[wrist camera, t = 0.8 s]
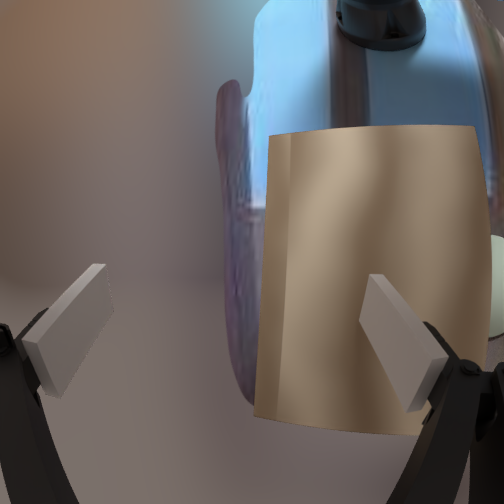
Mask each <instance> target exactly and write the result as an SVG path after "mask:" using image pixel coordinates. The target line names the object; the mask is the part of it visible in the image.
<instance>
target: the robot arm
mask: <svg viewBox="0 0 504 504" xmlns="http://www.w3.org/2000/svg"><path fill="white" fill-rule="evenodd" d="M499 1H504V0H499ZM336 18H337V22H338V25H339V28H340V30H341V32H342V33H343V34H344V36H345V37H346V38H348V39H349V40H350V41H352V42H354V43H355V44H357V45H360V46H362V47H365V48H369V49H374V50H381V51H394V50H401V49H406V48H409V47H411V46H413V45H415V44H417V43H418V42H419V41H420V40H421V39H422V38H423V37H424V35H425V32H426V18H425V14H424V12H423V9H422V8H421V5H420V3H419V1H418V0H337V8H336ZM113 312H114V308H113V303H112V298H111V292H110V286H109V280H108V274H107V267H106V264H92V265H91V266H90V267H89V268H88V269H87V270H86V271H85V272H84V273H83V274H82V275H81V276H80V277H79V278H78V279H77V280H76V281H75V282H74V283H73V284H72V285H71V286H70V287H69V288H68V289H67V290H66V291H65V292H64V294H62V295H61V297H60V298H59V299H58V300H57V301H56V302H55V303H54V304H53V305H52V306H51V307H50V308H46V309H44V310H43V311H41V312H39V313H38V314H37V315H36V316H35V317H34V318H33V320H32V321H31V322H30V323H29V324H28V326H26V327H25V328H24V329H23V330H22V332H21V333H20V334H19V335H18V336H17V337H16V339H13V337H12V334H11V331H10V329H9V326H8V325H6V324H2V323H0V463H1V468H2V472H3V476H4V480H5V484H6V487H7V491H8V495H9V498H10V502H11V504H79V502H78V500H77V498H76V496H75V494H74V492H73V490H72V487H71V485H70V483H69V480H68V478H67V476H66V473H65V471H64V469H63V466H62V464H61V461H60V459H59V456H58V453H57V451H56V448H55V445H54V442H53V439H52V437H51V433H50V430H49V427H48V424H47V421H46V417H45V414H44V411H43V407H42V403H41V400H40V396H39V394H38V393H37V389H38V387H39V386H40V384H41V386H42V388H43V390H44V392H45V394H46V395H49V396H52V397H56V398H60V399H61V397H62V396H63V394H64V392H65V390H66V389H67V387H68V385H69V383H70V382H71V380H72V378H73V377H74V375H75V373H76V371H77V370H78V368H79V366H80V365H81V363H82V361H83V360H84V358H85V356H86V355H87V353H88V351H89V350H90V348H91V347H92V345H93V343H94V342H95V340H96V339H97V337H98V336H99V334H100V332H101V331H102V329H103V328H104V326H105V325H106V323H107V321H108V320H109V318H110V317H111V315H112V314H113ZM359 322H360V324H361V326H362V328H363V330H364V332H365V333H366V335H367V337H368V339H369V341H370V343H371V345H372V347H373V349H374V351H375V353H376V354H377V356H378V358H379V360H380V362H381V364H382V366H383V368H384V370H385V372H386V374H387V376H388V378H389V380H390V382H391V384H392V386H393V388H394V390H395V392H396V394H397V397H398V399H399V401H400V403H401V405H402V407H403V409H404V411H405V413H409V412H414V411H419V410H422V408H423V406H424V405H425V403H426V401H427V399H428V401H429V403H430V405H431V406H432V407H431V409H430V410H429V412H428V414H427V415H426V417H425V419H424V420H423V422H422V425H423V428H422V430H421V433H420V435H419V438H418V440H417V443H416V445H415V447H414V449H413V451H412V454H411V456H410V458H409V460H408V462H407V464H406V467H405V469H404V471H403V473H402V475H401V477H400V479H399V481H398V483H397V484H396V486H395V488H394V490H393V492H392V494H391V496H390V497H389V499H388V501H387V503H386V504H453V503H454V500H455V498H456V494H457V492H458V489H459V486H460V482H461V479H462V476H463V473H464V469H465V466H466V462H467V458H468V454H469V450H470V486H469V488H470V489H469V503H468V504H504V362H501V363H498V365H497V366H496V368H495V370H494V372H485V371H482V369H481V368H480V366H479V365H477V364H476V363H475V362H473V361H471V360H467V359H460V358H459V357H458V356H457V354H456V353H455V352H454V351H453V349H452V348H451V347H450V345H449V344H448V343H447V342H445V339H444V338H443V337H442V336H441V334H440V333H439V332H438V330H437V329H436V328H435V327H434V326H432V325H431V324H429V323H428V322H427V321H424V322H422V321H421V320H420V318H419V317H418V316H417V315H416V313H415V312H414V311H413V310H412V309H411V307H410V306H409V305H408V304H407V302H406V301H405V300H404V299H403V298H402V296H401V295H400V294H399V293H398V292H397V290H396V289H395V288H394V287H393V286H392V284H391V283H390V282H389V281H388V280H387V279H386V277H385V276H384V275H383V274H369V278H368V283H367V287H366V292H365V296H364V301H363V305H362V309H361V314H360V318H359Z"/></svg>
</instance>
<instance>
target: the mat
mask: <svg viewBox="0 0 504 504" xmlns="http://www.w3.org/2000/svg"><path fill="white" fill-rule="evenodd" d="M491 245H492V299H491V316H490V328H489V337H494V336H497V335H500V334H502V333H504V238H502V237H499V236H495V235H491Z"/></svg>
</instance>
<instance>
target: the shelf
mask: <svg viewBox="0 0 504 504" xmlns="http://www.w3.org/2000/svg"><path fill="white" fill-rule="evenodd" d="M369 274H383V275H384V276H385V277H386V279H387V280H388V281H389V282H390V283H391V284H392V286H393V287H394V288H395V289H396V290H397V292H398V293H399V294H400V295H401V296H402V298H403V299H404V300H405V301H406V302H407V304H408V305H409V306H410V307H411V309H412V310H413V311H414V312H415V313H416V315H417V316H418V317H419V318H420V320H421V321H422V322H424V321H427V322H428V323H429V324H431V325H432V326H434V327H435V328H436V329H437V330H438V332H439V333H440V334H441V336H442V337H443V338H444V339H445V342H447V343H448V344H449V345H450V347H451V348H452V349H453V351H454V352H455V353H456V354H457V356H458V357H459V358H460V359H467V360H471V361H473V362H475V363H476V364H477V365H479V366H480V368H481V369H482V371H484V368H485V361H486V354H487V347H488V338H489V328H490V316H491V299H492V245H491V228H490V216H489V206H488V197H487V189H486V182H485V176H484V170H483V164H482V158H481V153H480V148H479V144H478V139H477V135H476V130H475V126H461V125H385V126H364V127H348V128H335V129H324V130H314V131H304V132H295V133H287V134H279V135H272V136H269V149H268V171H267V192H266V212H265V232H264V251H263V269H262V287H261V305H260V322H259V339H258V355H257V371H256V386H255V401H254V416H255V417H259V418H264V419H269V420H274V421H280V422H285V423H290V424H297V425H303V426H309V427H316V428H324V429H331V430H339V431H349V432H360V433H372V434H388V435H420V433H421V430H422V428H423V425H422V422H423V420H424V419H425V417H426V415H427V414H428V412H429V410H430V409H431V407H432V406H431V405H430V403H429V401H428V399H427V401H426V403H425V405H424V406H423V408H422V410H419V411H414V412H409V413H405V411H404V409H403V407H402V405H401V403H400V401H399V399H398V397H397V394H396V392H395V390H394V388H393V386H392V384H391V382H390V380H389V378H388V376H387V374H386V372H385V370H384V368H383V366H382V364H381V362H380V360H379V358H378V356H377V354H376V353H375V351H374V349H373V347H372V345H371V343H370V341H369V339H368V337H367V335H366V333H365V332H364V330H363V328H362V326H361V324H360V322H359V318H360V314H361V309H362V305H363V301H364V296H365V292H366V287H367V283H368V278H369Z"/></svg>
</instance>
